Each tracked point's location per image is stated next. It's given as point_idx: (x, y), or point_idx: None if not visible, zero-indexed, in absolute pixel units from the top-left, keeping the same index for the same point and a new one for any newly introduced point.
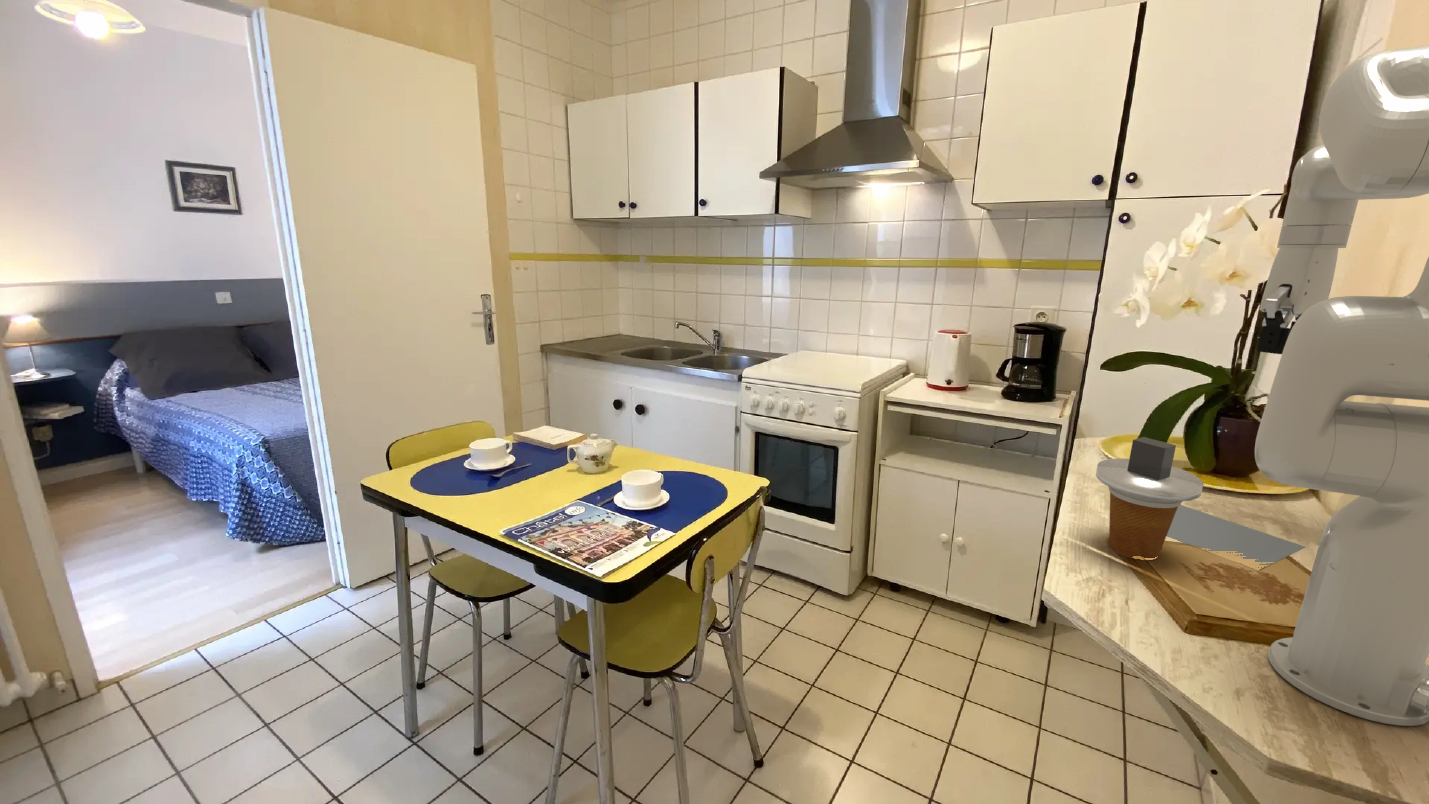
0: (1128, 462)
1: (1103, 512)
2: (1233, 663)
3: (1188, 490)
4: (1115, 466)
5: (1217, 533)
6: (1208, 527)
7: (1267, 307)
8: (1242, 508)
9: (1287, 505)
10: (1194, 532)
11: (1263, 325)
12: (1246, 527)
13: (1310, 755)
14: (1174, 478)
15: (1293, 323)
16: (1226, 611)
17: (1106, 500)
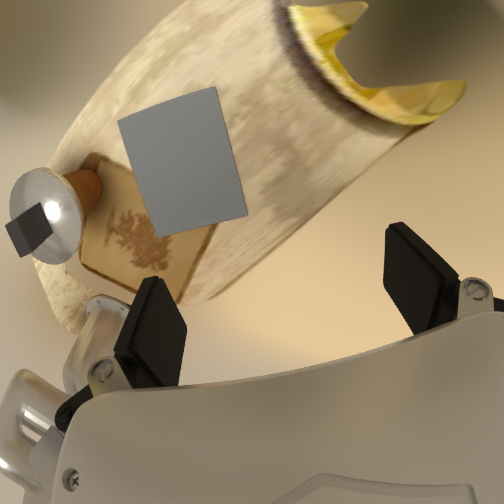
0: (38, 185)
1: (120, 101)
2: (74, 295)
3: (52, 263)
4: (23, 195)
5: (187, 174)
6: (192, 160)
7: (45, 441)
8: (294, 125)
9: (352, 138)
10: (166, 167)
11: (99, 363)
12: (234, 169)
13: (72, 330)
14: (55, 236)
15: (436, 283)
16: (99, 265)
17: (150, 71)
